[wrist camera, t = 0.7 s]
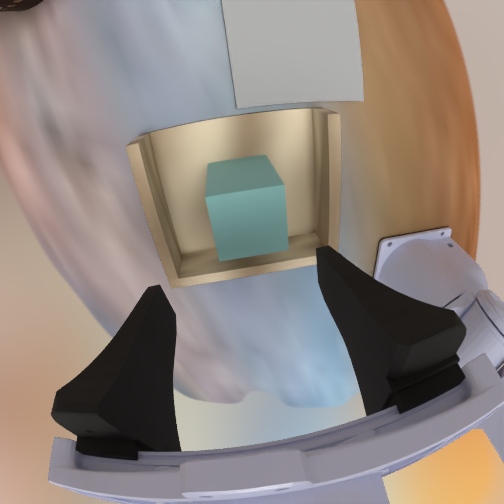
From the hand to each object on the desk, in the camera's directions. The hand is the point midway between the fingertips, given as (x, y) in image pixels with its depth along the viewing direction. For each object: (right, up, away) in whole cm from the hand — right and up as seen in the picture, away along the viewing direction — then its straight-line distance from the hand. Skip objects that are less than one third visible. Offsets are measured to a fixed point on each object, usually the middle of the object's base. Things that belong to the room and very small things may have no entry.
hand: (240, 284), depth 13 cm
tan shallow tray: (0, +6, +8) cm, 10 cm away
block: (0, +6, +7) cm, 10 cm away
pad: (+3, +15, +2) cm, 16 cm away
